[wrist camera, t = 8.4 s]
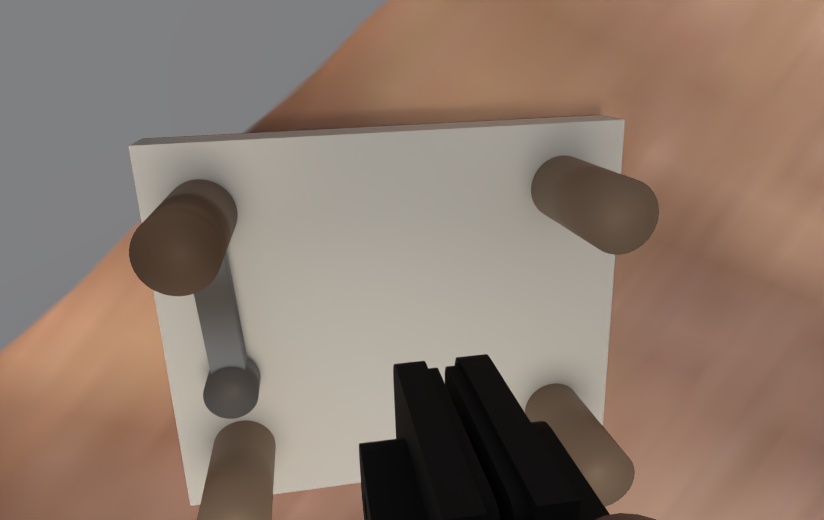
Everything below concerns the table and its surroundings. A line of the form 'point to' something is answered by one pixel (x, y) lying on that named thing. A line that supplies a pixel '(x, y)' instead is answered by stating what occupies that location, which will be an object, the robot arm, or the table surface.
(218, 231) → the grey and brown lever
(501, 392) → the robot arm
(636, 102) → the table surface
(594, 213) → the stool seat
